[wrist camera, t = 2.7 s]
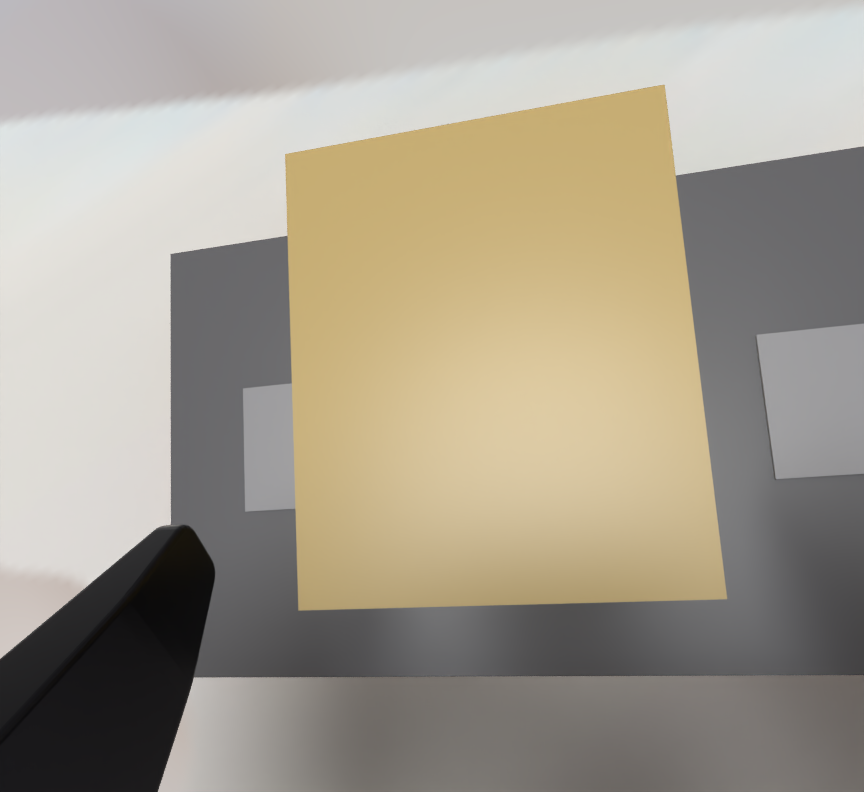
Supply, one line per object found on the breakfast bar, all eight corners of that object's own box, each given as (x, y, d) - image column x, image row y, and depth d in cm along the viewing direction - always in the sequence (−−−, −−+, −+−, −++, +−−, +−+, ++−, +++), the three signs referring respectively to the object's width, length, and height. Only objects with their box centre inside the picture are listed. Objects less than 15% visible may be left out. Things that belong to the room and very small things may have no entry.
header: (1049, 639, 15) (1248, 703, 10) (203, 650, 19) (84, 698, 15) (965, 196, 16) (1106, 84, 12) (200, 301, 20) (92, 248, 16)
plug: (642, 530, 15) (727, 599, 5) (479, 538, 16) (298, 611, 6) (621, 335, 16) (664, 84, 6) (466, 351, 17) (285, 153, 7)
